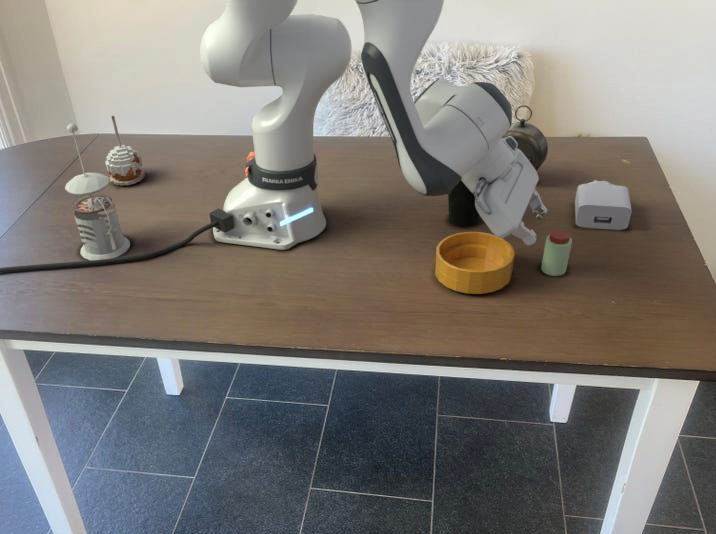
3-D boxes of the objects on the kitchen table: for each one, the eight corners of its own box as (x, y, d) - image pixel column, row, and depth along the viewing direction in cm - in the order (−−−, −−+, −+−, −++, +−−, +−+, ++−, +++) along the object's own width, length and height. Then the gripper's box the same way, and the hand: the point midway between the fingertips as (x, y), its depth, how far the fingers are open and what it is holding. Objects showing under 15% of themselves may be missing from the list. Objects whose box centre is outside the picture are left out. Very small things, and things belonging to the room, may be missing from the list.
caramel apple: (148, 182, 162) (134, 117, 152) (114, 190, 160) (97, 125, 150) (140, 169, 168) (126, 106, 158) (108, 177, 166) (91, 113, 156)
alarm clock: (543, 180, 151) (555, 104, 140) (535, 191, 147) (547, 114, 137) (493, 171, 155) (502, 96, 145) (484, 181, 152) (492, 106, 142)
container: (542, 275, 124) (548, 240, 119) (539, 262, 127) (545, 228, 122) (567, 276, 123) (574, 241, 119) (564, 263, 126) (571, 228, 122)
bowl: (435, 295, 121) (436, 271, 118) (434, 255, 131) (436, 231, 128) (513, 297, 119) (517, 272, 116) (507, 256, 129) (511, 232, 126)
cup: (487, 214, 141) (493, 156, 134) (477, 232, 136) (483, 174, 128) (449, 208, 144) (453, 152, 136) (438, 226, 139) (442, 168, 131)
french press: (112, 229, 146) (80, 109, 130) (145, 248, 140) (115, 124, 124) (70, 249, 141) (31, 126, 125) (102, 269, 135) (65, 142, 119)
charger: (621, 193, 144) (626, 230, 133) (573, 190, 146) (574, 226, 136) (627, 171, 141) (632, 207, 130) (577, 169, 143) (579, 204, 132)
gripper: (486, 183, 109) (543, 249, 112) (514, 132, 123) (563, 191, 126) (455, 205, 113) (510, 268, 116) (486, 153, 127) (534, 211, 130)
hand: (538, 228), depth 121 cm, fingers open, 8 cm apart
